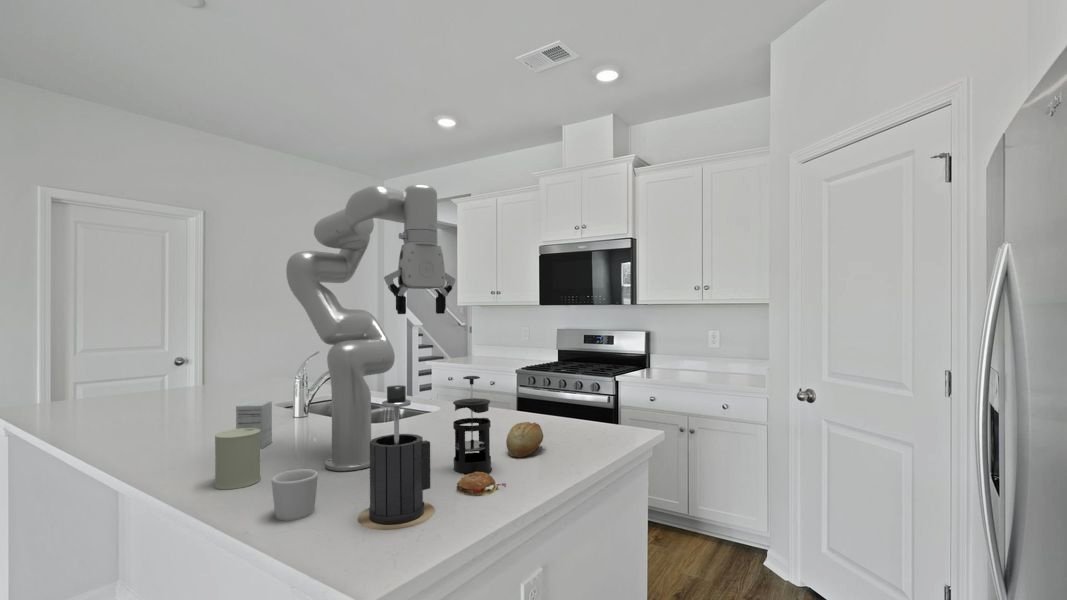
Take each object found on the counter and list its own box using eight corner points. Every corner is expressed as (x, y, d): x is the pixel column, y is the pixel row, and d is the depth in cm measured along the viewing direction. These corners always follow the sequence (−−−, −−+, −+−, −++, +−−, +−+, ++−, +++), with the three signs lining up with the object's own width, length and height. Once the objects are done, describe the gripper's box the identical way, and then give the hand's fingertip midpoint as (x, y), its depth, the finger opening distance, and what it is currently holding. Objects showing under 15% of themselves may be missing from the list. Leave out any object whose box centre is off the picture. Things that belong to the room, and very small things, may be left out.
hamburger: (510, 505, 101) (509, 475, 102) (442, 502, 103) (442, 473, 103) (520, 482, 115) (520, 455, 116) (460, 480, 117) (460, 454, 117)
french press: (476, 480, 115) (475, 379, 116) (443, 475, 119) (442, 377, 120) (502, 466, 126) (501, 374, 126) (470, 461, 130) (470, 372, 130)
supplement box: (246, 443, 151) (246, 401, 152) (272, 442, 152) (272, 400, 152) (235, 450, 144) (235, 405, 144) (262, 449, 145) (262, 404, 145)
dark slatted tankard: (361, 512, 95) (360, 439, 96) (417, 498, 103) (417, 429, 103) (381, 530, 88) (381, 450, 88) (440, 513, 95) (440, 439, 95)
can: (269, 478, 119) (269, 427, 119) (235, 491, 110) (235, 436, 110) (240, 474, 122) (240, 424, 122) (204, 487, 113) (204, 433, 113)
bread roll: (547, 445, 145) (547, 417, 145) (537, 460, 131) (536, 429, 131) (515, 444, 147) (515, 416, 148) (501, 458, 133) (501, 428, 133)
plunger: (375, 500, 95) (374, 386, 96) (405, 492, 99) (404, 383, 99) (387, 509, 90) (387, 390, 91) (418, 501, 94) (418, 386, 95)
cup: (287, 505, 102) (287, 465, 102) (328, 503, 103) (328, 463, 103) (263, 527, 91) (263, 483, 91) (309, 525, 92) (309, 481, 92)
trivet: (346, 516, 96) (346, 512, 96) (415, 498, 104) (415, 494, 104) (374, 542, 85) (374, 537, 85) (448, 519, 93) (448, 515, 93)
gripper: (391, 234, 108) (392, 314, 108) (461, 240, 119) (462, 313, 119) (378, 238, 114) (378, 314, 114) (446, 244, 125) (446, 313, 124)
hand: (421, 313), depth 116 cm, fingers open, 9 cm apart
